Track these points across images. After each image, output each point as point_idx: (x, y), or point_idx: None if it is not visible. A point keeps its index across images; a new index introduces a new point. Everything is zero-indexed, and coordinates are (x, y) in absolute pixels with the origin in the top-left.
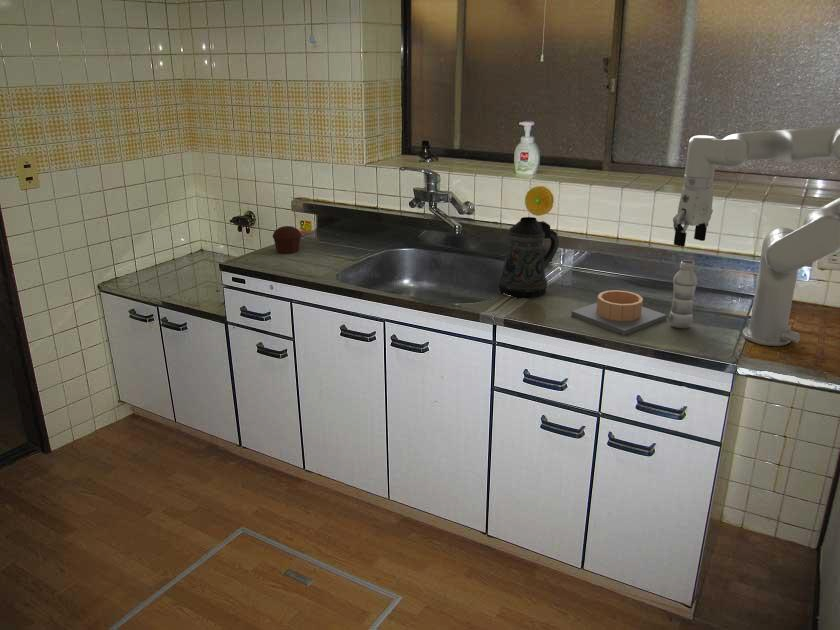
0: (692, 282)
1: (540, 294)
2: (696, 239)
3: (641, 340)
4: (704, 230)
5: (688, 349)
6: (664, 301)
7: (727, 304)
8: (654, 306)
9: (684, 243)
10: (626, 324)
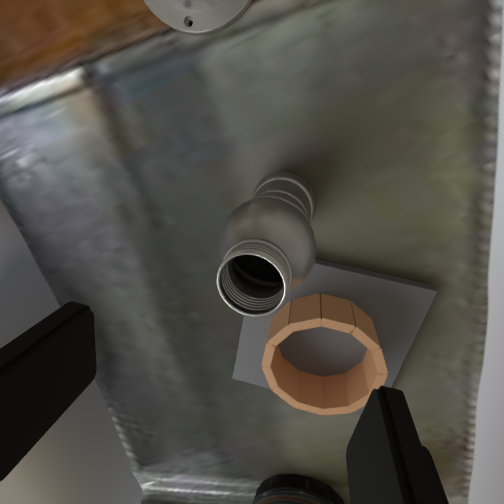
0: (291, 209)
1: (306, 480)
2: (93, 356)
3: (442, 239)
4: (4, 379)
5: (441, 108)
6: (154, 288)
7: (57, 164)
8: (198, 295)
9: (404, 411)
10: (389, 302)
